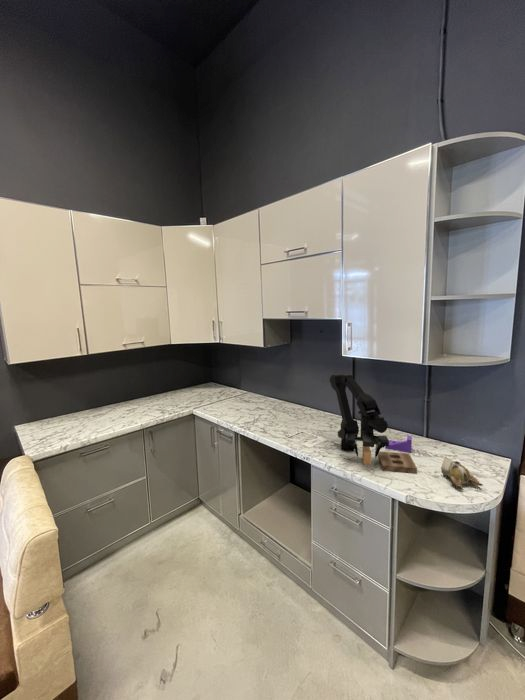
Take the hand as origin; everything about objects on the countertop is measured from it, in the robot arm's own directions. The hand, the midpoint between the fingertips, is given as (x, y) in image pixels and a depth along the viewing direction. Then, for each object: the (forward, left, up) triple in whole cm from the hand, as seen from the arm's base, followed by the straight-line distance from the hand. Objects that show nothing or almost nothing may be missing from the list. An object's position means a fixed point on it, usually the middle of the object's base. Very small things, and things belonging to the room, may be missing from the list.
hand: (366, 457), depth 144 cm
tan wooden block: (0, 0, -2) cm, 2 cm away
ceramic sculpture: (+35, -11, -3) cm, 36 cm away
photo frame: (-30, +21, -3) cm, 37 cm away
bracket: (+18, +18, -3) cm, 25 cm away
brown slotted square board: (+13, -1, -2) cm, 13 cm away
